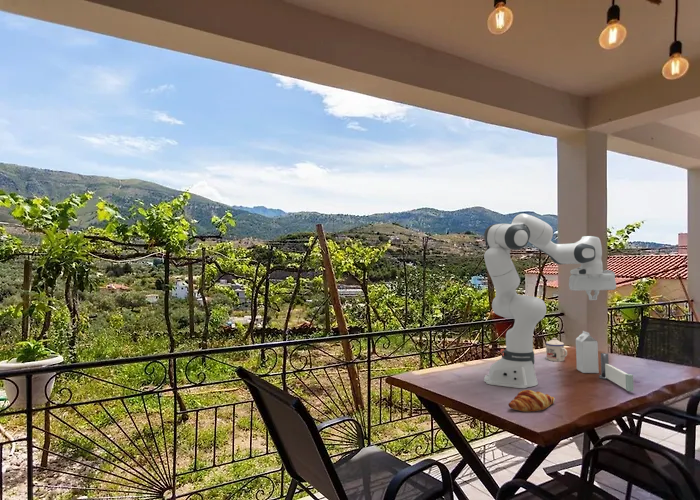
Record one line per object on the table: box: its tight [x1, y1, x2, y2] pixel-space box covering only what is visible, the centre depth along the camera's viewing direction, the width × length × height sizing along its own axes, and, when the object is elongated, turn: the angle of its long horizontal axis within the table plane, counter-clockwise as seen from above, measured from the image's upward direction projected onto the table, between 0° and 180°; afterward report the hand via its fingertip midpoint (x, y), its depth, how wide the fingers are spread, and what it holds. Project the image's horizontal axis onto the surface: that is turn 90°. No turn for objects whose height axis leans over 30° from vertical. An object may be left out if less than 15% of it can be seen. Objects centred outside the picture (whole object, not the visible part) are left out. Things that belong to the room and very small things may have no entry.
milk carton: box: [575, 330, 600, 374], centre depth 203 cm, size 7×7×19 cm
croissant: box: [508, 389, 556, 413], centre depth 156 cm, size 21×10×8 cm, turn 112°
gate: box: [605, 363, 635, 392], centre depth 179 cm, size 20×2×6 cm, turn 172°
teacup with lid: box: [545, 337, 568, 362], centre depth 226 cm, size 12×9×12 cm
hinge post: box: [598, 352, 610, 381], centre depth 191 cm, size 5×5×11 cm
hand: (593, 299), depth 196 cm, fingers closed
